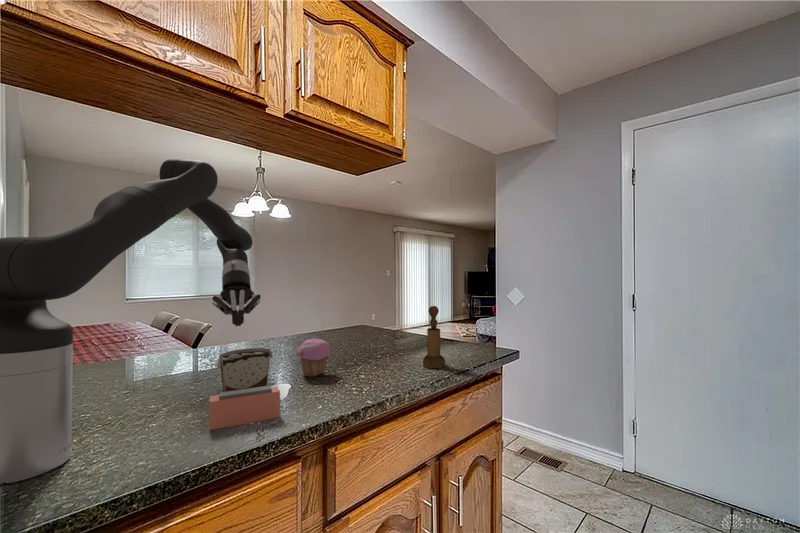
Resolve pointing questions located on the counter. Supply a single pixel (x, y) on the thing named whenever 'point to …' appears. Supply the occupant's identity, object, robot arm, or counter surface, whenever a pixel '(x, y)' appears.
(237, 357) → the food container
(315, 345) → the cupcake
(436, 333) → the brown tall knobbed column
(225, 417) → the pink and grey block
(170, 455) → the counter surface
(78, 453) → the counter surface
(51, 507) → the counter surface
